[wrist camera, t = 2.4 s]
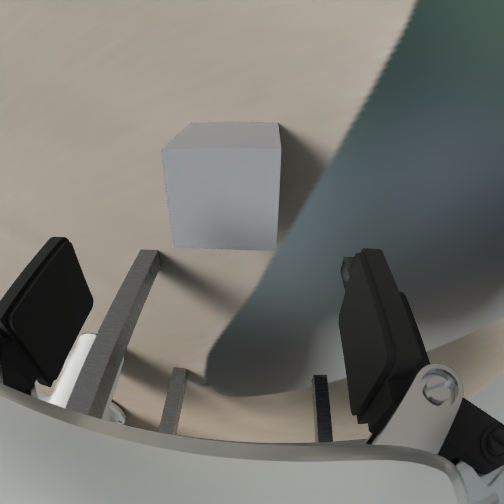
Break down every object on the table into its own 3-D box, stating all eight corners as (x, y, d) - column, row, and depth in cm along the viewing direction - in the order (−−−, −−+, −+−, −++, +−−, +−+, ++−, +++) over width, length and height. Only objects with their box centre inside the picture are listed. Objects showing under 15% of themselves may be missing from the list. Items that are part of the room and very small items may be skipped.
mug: (136, 356, 33) (108, 447, 24) (112, 371, 36) (85, 449, 26) (66, 305, 29) (18, 395, 19) (50, 327, 32) (10, 404, 22)
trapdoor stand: (324, 381, 34) (333, 510, 21) (175, 374, 35) (149, 498, 22) (361, 257, 24) (418, 457, 11) (140, 250, 24) (56, 432, 11)
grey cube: (275, 200, 21) (276, 251, 17) (196, 199, 22) (174, 247, 17) (278, 122, 18) (281, 149, 13) (191, 122, 18) (161, 149, 14)
